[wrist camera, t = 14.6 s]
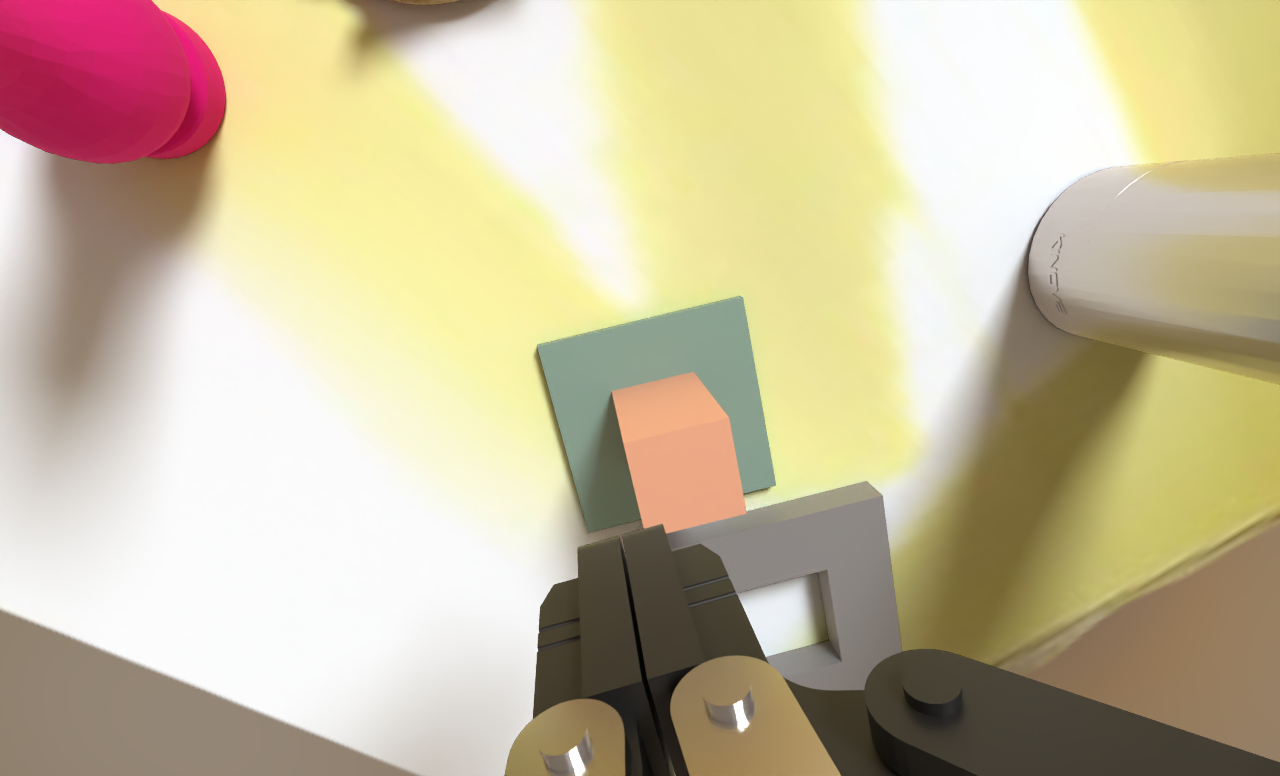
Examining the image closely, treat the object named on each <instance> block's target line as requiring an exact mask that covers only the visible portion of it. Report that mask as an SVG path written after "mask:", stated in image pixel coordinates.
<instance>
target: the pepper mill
mask: <svg viewBox="0 0 1280 776" xmlns="http://www.w3.org/2000/svg"><path fill="white" fill-rule="evenodd" d="M224 109H225V87H224V81H223V77H222V74H221V71H220V68H219V66H218V63H217V61H216V59H215V58H214V56H213V54H212V52H211V50H210V49H209V48H208V46H207V45H206V44H205V42H204V41H203V40H202V39H201V38H200V37H199V35H198V34H197V33H195V32H194V31H193V30H192V29H191V28H190V27H189V26H188V25H186V24H185V23H183V22H182V21H180V20H179V19H177V18H175V17H174V16H172V15H170V14H168V13H166V12H164V11H162V10H160V9H159V8H158V7H157V6H156V5H155V4H154V3H153V2H152V1H151V0H0V129H2V130H3V131H5V132H6V133H8V134H9V135H11V136H13V137H15V138H17V139H20V140H22V141H24V142H26V143H28V144H30V145H32V146H34V147H37V148H39V149H41V150H43V151H46V152H49V153H52V154H56V155H59V156H63V157H66V158H71V159H76V160H81V161H86V162H93V163H121V162H127V161H133V160H136V159H139V158H142V157H150V158H159V159H170V158H178V157H182V156H186V155H188V154H191V153H193V152H195V151H197V150H198V149H200V148H201V147H203V146H204V145H205V144H206V143H207V142H208V141H209V140H210V139H211V138H212V137H213V135H214V134H215V133H216V131H217V130H218V127H219V125H220V123H221V121H222V118H223V114H224Z"/></svg>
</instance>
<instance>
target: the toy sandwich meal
mask: <svg viewBox="0 0 1280 776" xmlns="http://www.w3.org/2000/svg"><path fill="white" fill-rule="evenodd" d="M392 1H397V2H401V3H408V4H419V5H421V4H442V3H448V2H454V1H458V0H392Z"/></svg>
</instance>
